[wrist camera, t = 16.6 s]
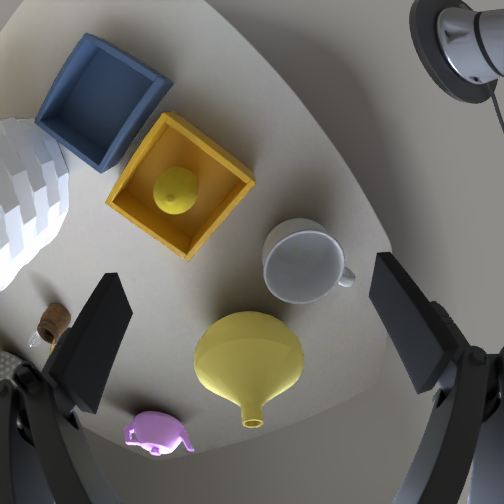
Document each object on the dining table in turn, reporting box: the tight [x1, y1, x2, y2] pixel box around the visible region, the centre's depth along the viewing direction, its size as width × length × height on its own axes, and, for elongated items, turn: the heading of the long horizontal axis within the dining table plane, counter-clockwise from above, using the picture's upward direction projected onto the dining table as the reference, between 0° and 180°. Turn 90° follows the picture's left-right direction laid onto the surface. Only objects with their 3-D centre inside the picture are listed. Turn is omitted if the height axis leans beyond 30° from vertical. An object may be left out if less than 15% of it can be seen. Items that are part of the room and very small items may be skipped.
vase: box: [194, 311, 304, 428], centre depth 42 cm, size 18×18×19 cm
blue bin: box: [34, 33, 174, 174], centre depth 27 cm, size 14×14×6 cm
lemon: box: [153, 167, 199, 214], centre depth 32 cm, size 6×6×8 cm
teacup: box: [262, 218, 355, 304], centre depth 39 cm, size 14×11×8 cm
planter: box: [0, 351, 25, 425], centre depth 50 cm, size 19×19×18 cm
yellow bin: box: [105, 111, 256, 262], centre depth 34 cm, size 14×14×6 cm
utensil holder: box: [28, 303, 71, 356], centre depth 42 cm, size 6×6×12 cm
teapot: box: [123, 411, 194, 455], centre depth 64 cm, size 22×16×12 cm
